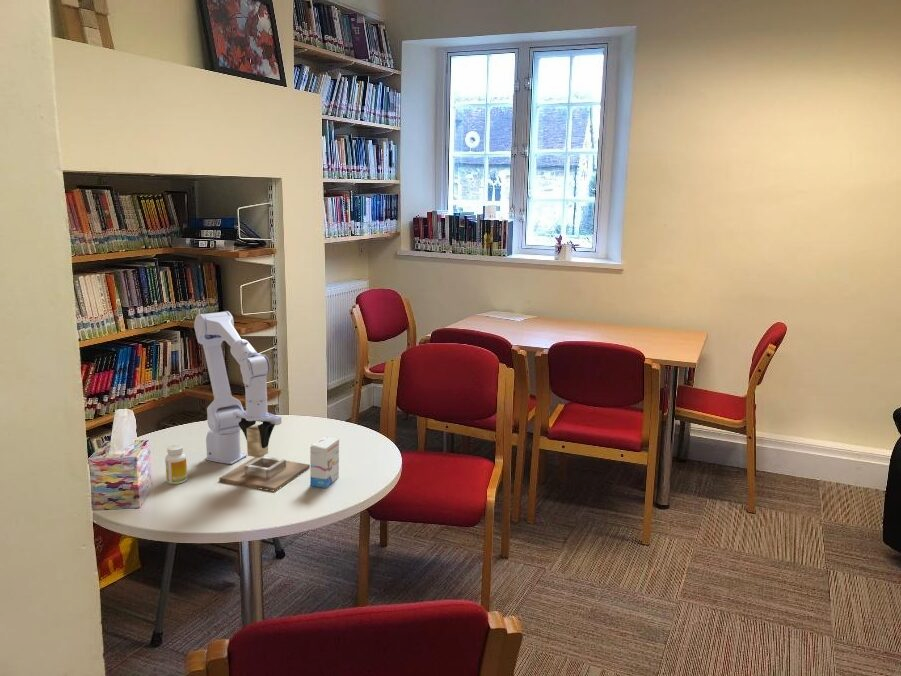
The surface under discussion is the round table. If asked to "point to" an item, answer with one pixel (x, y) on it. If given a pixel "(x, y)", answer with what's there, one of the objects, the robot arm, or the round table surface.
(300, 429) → the round table surface
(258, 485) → the well stand
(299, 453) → the round table surface
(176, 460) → the supplement bottle
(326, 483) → the ink box
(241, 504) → the round table surface
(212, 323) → the robot arm
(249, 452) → the maple post
